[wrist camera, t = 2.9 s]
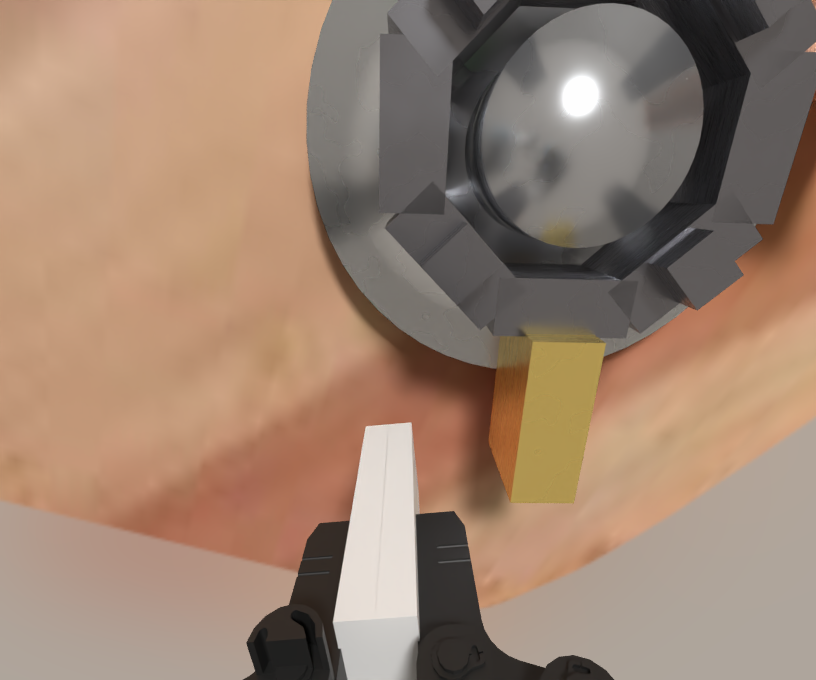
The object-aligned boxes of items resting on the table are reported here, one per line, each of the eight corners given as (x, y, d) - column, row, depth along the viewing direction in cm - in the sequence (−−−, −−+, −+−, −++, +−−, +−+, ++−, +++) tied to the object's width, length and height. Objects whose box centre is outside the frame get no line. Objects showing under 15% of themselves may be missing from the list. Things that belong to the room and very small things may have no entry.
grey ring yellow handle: (385, -80, 13) (379, -201, 9) (774, -60, 13) (935, -167, 9) (380, 440, 19) (376, 505, 15) (644, 443, 19) (707, 508, 15)
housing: (323, 354, 19) (293, 418, 14) (301, -160, 13) (233, -408, 8) (756, 362, 20) (892, 427, 15) (920, -124, 14) (1260, -330, 9)
